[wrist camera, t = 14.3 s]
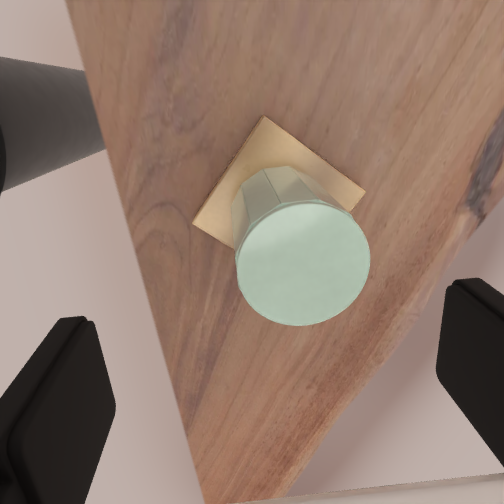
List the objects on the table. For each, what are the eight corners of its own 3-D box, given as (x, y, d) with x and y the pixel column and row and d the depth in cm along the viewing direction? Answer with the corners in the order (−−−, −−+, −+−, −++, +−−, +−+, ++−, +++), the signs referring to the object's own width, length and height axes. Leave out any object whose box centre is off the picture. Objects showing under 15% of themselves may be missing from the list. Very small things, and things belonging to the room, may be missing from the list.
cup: (212, 204, 28) (209, 256, 19) (292, 146, 27) (327, 174, 18) (266, 273, 31) (284, 347, 22) (341, 223, 29) (393, 280, 21)
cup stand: (193, 218, 32) (170, 287, 21) (263, 114, 30) (282, 126, 18) (288, 278, 35) (316, 370, 23) (360, 187, 32) (434, 240, 20)
